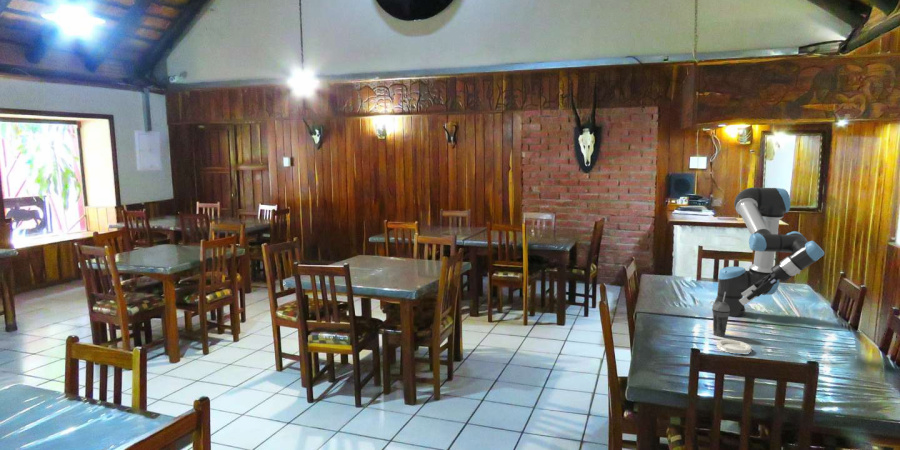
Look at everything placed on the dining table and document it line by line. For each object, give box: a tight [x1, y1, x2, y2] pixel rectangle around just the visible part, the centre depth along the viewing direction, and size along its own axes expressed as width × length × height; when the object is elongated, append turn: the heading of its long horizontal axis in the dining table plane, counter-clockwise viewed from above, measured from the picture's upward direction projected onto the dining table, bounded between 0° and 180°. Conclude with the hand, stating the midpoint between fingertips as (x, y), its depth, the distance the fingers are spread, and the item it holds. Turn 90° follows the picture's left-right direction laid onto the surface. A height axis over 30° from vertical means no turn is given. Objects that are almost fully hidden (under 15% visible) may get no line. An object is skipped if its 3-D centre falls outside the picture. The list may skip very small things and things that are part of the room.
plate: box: [716, 339, 753, 353], centre depth 232 cm, size 13×13×2 cm
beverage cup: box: [711, 292, 730, 338], centre depth 248 cm, size 7×7×20 cm
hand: (742, 299), depth 242 cm, fingers open, 13 cm apart
